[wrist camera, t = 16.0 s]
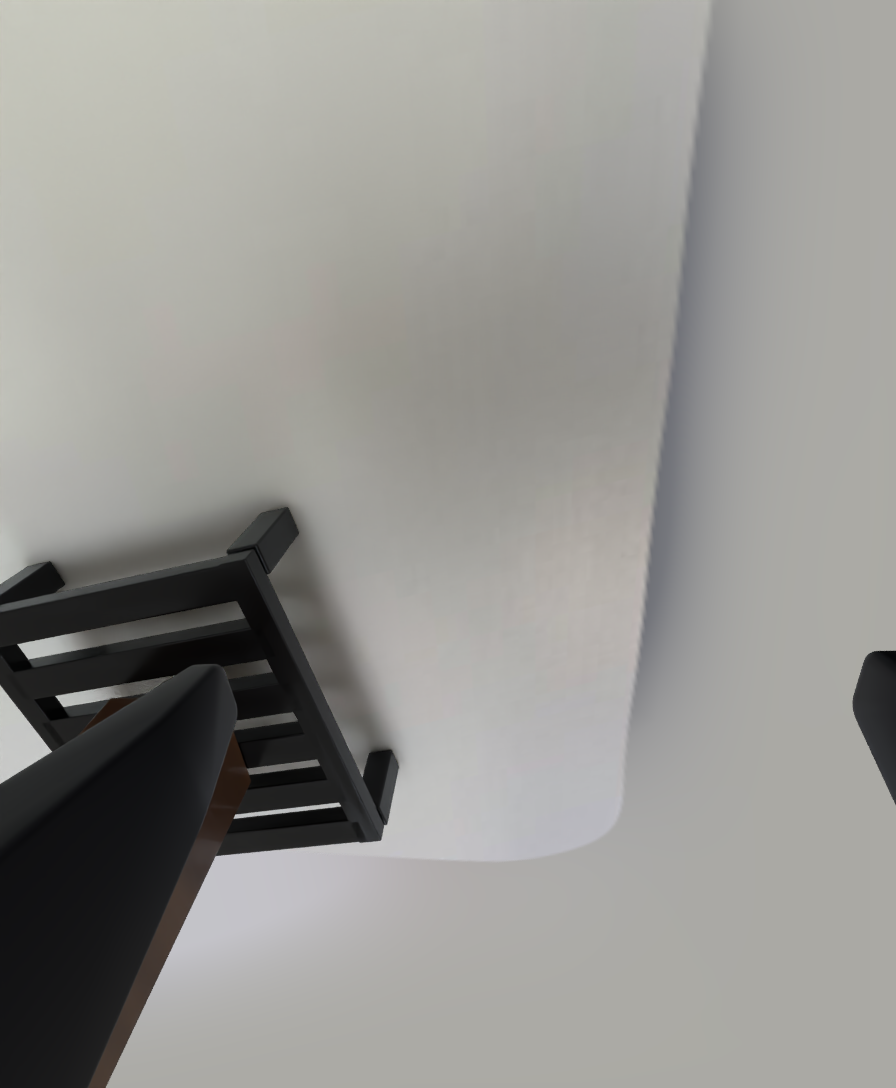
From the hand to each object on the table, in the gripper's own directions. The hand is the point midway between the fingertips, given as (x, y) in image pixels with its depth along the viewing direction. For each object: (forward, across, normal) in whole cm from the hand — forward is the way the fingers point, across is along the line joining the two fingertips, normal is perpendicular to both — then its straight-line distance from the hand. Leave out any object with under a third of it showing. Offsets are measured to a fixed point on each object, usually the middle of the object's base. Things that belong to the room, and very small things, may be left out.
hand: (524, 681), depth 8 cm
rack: (+13, +13, +10) cm, 21 cm away
